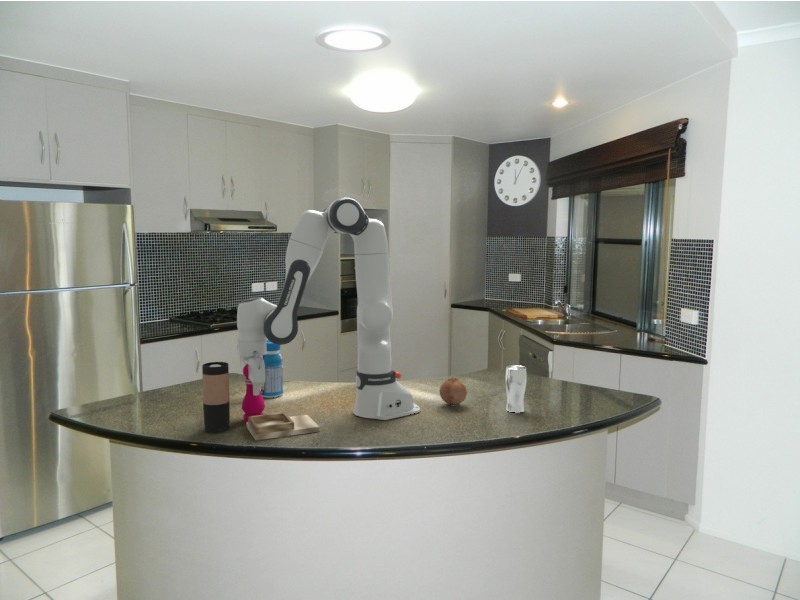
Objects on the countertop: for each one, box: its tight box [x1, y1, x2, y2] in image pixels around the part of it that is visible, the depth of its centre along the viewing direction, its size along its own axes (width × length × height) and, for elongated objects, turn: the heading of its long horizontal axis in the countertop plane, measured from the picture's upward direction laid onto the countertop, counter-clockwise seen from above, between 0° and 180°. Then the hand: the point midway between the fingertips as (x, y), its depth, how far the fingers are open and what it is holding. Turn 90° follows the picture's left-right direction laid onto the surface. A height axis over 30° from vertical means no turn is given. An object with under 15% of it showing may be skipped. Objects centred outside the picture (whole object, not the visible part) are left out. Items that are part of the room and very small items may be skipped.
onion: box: [439, 376, 468, 407], centre depth 202 cm, size 10×9×10 cm
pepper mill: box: [241, 364, 266, 423], centre depth 184 cm, size 7×7×20 cm
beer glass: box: [504, 364, 527, 414], centre depth 196 cm, size 7×7×15 cm
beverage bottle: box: [260, 339, 284, 399], centre depth 213 cm, size 8×8×20 cm
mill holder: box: [246, 411, 320, 441], centre depth 176 cm, size 19×13×4 cm
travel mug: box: [201, 361, 231, 434], centre depth 175 cm, size 8×8×20 cm
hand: (253, 391), depth 185 cm, fingers open, 7 cm apart
